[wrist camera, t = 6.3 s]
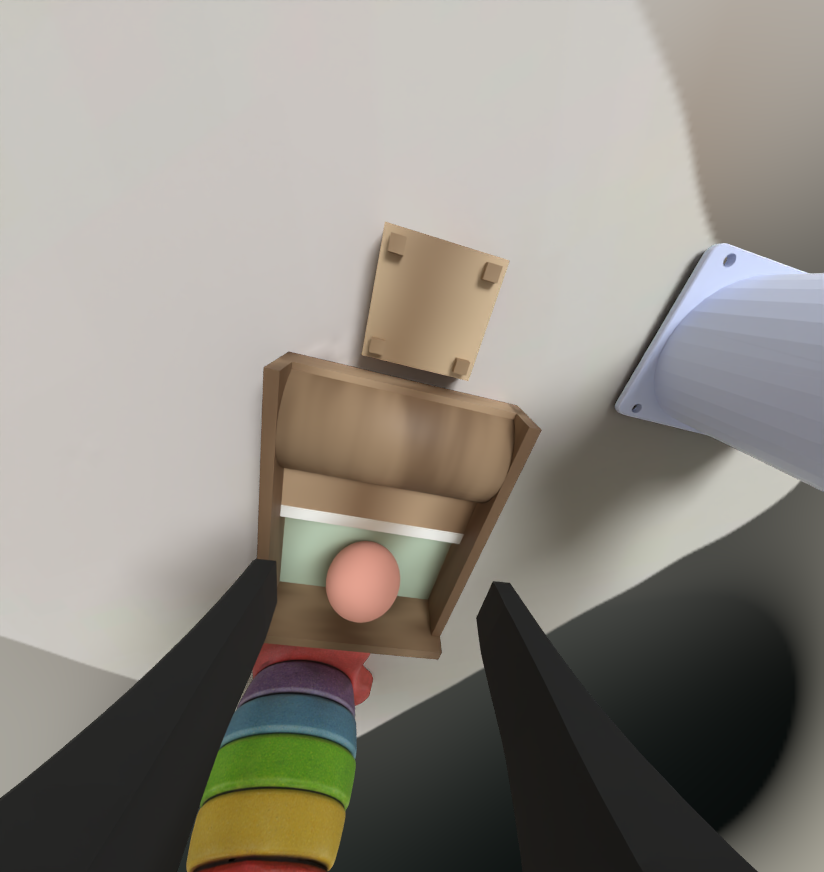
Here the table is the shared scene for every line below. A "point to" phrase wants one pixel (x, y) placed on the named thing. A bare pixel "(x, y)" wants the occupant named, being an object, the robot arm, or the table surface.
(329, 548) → the wooden tray
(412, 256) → the wooden footed board
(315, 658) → the stacking bear
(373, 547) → the ball
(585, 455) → the table surface
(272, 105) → the table surface
